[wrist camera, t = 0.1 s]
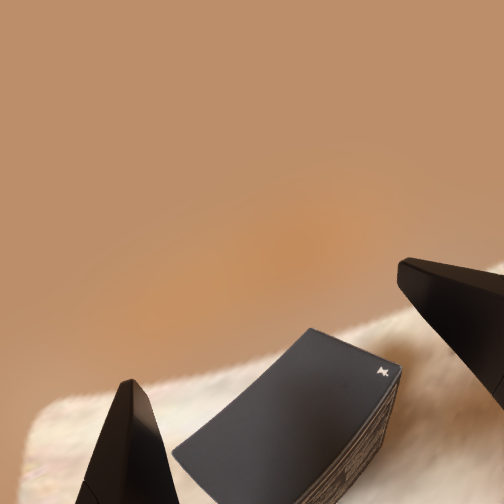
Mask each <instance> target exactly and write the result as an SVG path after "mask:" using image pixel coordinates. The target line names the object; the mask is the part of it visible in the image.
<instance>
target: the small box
mask: <svg viewBox="0 0 504 504" xmlns="http://www.w3.org/2000/svg"><path fill="white" fill-rule="evenodd" d="M401 373H402V366H401V365H400V364H397V363H395V362H392V361H389V360H387V359H384V358H382V357H380V356H377V355H375V354H372V353H370V352H368V351H365V350H363V349H360V348H358V347H356V346H353V345H351V344H349V343H346V342H344V341H342V340H339V339H337V338H335V337H333V336H330V335H328V334H326V333H323V332H321V331H318V330H316V329H314V328H309V329H308V330H307V331H306V332H305V333H304V334H303V335H302V336H301V337H300V338H299V339H298V340H297V341H296V342H295V343H294V344H293V345H292V346H291V347H290V348H289V349H288V350H287V351H286V352H285V353H284V354H283V355H282V356H281V357H280V358H279V359H278V360H277V361H276V362H275V363H274V364H273V365H272V366H270V367H269V368H268V369H267V370H266V371H265V372H264V373H263V374H262V375H261V376H260V377H259V378H258V379H257V380H256V381H254V382H253V383H252V384H251V385H250V386H249V387H248V388H247V389H246V390H245V391H243V392H242V393H241V394H240V395H239V396H238V397H237V398H236V399H234V400H233V401H232V402H231V403H230V404H229V405H228V406H226V407H225V408H224V409H223V410H222V411H221V412H219V413H218V414H217V415H216V416H215V417H214V418H212V419H211V420H210V421H209V422H208V423H206V424H205V425H204V426H203V427H201V428H200V429H199V430H198V431H196V432H195V433H194V434H193V435H192V436H190V437H189V438H188V439H186V440H185V441H184V442H182V443H181V444H180V445H179V446H177V447H176V448H175V449H174V450H172V452H171V453H172V456H173V457H174V458H175V460H176V461H177V462H178V463H179V464H180V466H181V467H182V468H183V469H184V470H185V471H186V472H187V473H188V474H189V476H190V477H191V478H192V479H193V480H194V481H195V482H196V483H197V484H198V485H199V486H200V487H201V488H202V489H203V490H204V491H205V492H206V493H207V494H208V495H209V496H210V497H211V498H212V499H213V500H214V501H215V502H217V503H218V504H335V503H336V502H337V501H338V500H339V499H340V498H341V497H342V495H344V493H345V492H346V491H347V490H348V489H349V488H350V487H351V486H352V484H353V483H354V482H355V481H356V480H357V478H358V477H359V475H360V474H361V473H362V472H363V471H364V469H365V468H366V467H367V465H368V464H369V462H370V461H371V460H372V458H373V457H374V456H375V454H376V453H377V451H378V450H379V448H380V447H381V446H382V444H383V440H384V436H385V432H386V428H387V425H388V421H389V418H390V414H391V412H392V409H393V405H394V402H395V398H396V393H397V389H398V386H399V382H400V377H401Z"/></svg>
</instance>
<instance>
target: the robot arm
mask: <svg viewBox="0 0 504 504" xmlns="http://www.w3.org/2000/svg"><path fill="white" fill-rule="evenodd" d="M397 284H398V286H399V288H400V289H401V291H402V292H403V293H404V294H405V295H406V297H407V298H408V299H409V301H410V302H411V303H412V304H413V306H414V307H415V308H416V310H417V311H418V312H419V313H420V315H421V316H422V317H423V318H424V319H425V320H426V322H427V323H428V324H429V325H430V326H431V327H432V328H433V329H434V330H435V331H436V332H437V333H438V334H439V335H440V337H441V338H442V339H443V340H444V341H445V342H446V343H447V344H448V345H449V346H450V347H451V349H452V350H453V351H454V352H455V353H456V354H457V355H458V356H459V357H460V359H461V360H462V361H463V362H464V363H465V364H466V365H467V367H468V368H469V369H470V370H471V371H472V372H473V373H474V375H475V376H476V377H477V378H478V379H479V381H480V382H481V383H482V384H483V385H484V386H485V388H486V389H487V390H488V391H489V392H490V394H492V396H493V398H494V399H495V400H496V401H497V403H498V404H499V405H500V406H501V408H502V409H503V410H504V275H498V274H495V273H490V272H485V271H480V270H474V269H469V268H464V267H458V266H454V265H448V264H442V263H437V262H432V261H426V260H421V259H416V258H410V257H409V258H406V259H404V260H402V261H401V262H399V264H398V273H397ZM84 480H85V481H83V482H82V485H81V488H80V491H79V494H78V497H77V500H76V502H75V504H179V500H178V497H177V493H176V490H175V486H174V483H173V479H172V475H171V471H170V467H169V463H168V459H167V455H166V451H165V447H164V443H163V440H162V437H161V434H160V431H159V428H158V425H157V422H156V419H155V416H154V413H153V410H152V407H151V404H150V401H149V398H148V396H147V394H146V393H145V392H144V391H143V389H142V388H141V387H140V386H139V384H138V383H137V382H136V381H135V380H134V379H129V380H126V381H123V382H121V383H120V385H119V388H118V390H117V392H116V395H115V397H114V400H113V402H112V405H111V407H110V410H109V412H108V415H107V417H106V420H105V422H104V425H103V427H102V430H101V433H100V435H99V438H98V440H97V443H96V446H95V449H94V451H93V454H92V457H91V460H90V462H89V465H88V468H87V471H86V474H85V477H84Z"/></svg>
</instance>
